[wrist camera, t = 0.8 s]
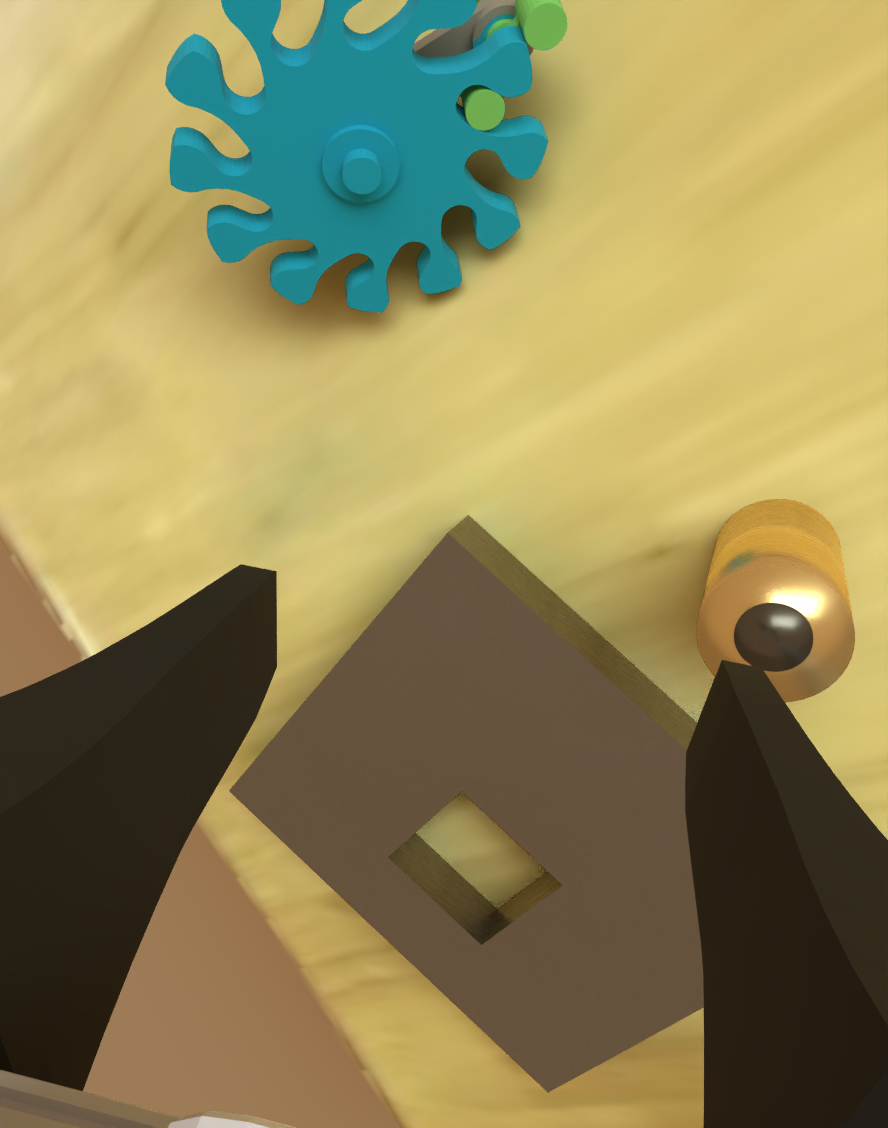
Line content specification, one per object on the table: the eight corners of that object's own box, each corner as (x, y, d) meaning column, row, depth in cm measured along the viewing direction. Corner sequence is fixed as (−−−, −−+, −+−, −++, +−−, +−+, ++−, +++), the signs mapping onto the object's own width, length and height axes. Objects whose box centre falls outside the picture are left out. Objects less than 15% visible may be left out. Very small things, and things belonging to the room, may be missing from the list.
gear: (316, 372, 27) (66, 115, 20) (309, 257, 30) (92, -5, 23) (638, 208, 24) (489, -191, 16) (593, 96, 27) (449, -283, 19)
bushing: (869, 556, 25) (890, 643, 19) (775, 632, 26) (772, 730, 21) (776, 474, 25) (773, 538, 19) (690, 555, 27) (665, 633, 21)
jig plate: (864, 874, 28) (869, 916, 26) (559, 1051, 36) (548, 1092, 34) (468, 515, 29) (448, 532, 27) (255, 764, 37) (229, 790, 35)
